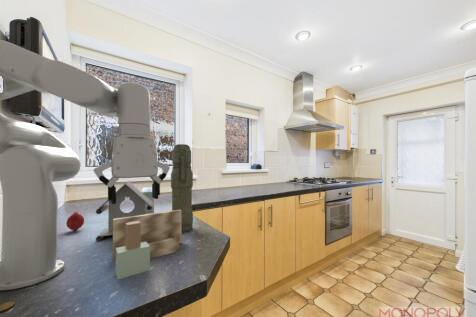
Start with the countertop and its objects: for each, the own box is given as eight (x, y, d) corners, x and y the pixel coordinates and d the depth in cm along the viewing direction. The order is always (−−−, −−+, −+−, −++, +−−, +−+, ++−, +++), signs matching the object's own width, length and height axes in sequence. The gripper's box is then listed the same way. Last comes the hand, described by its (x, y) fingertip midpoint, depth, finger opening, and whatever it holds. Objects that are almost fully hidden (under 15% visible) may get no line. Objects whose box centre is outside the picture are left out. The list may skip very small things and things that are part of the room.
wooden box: (116, 267, 54) (116, 224, 54) (112, 257, 60) (113, 218, 60) (189, 248, 66) (189, 213, 66) (179, 241, 72) (179, 209, 72)
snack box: (142, 215, 111) (142, 187, 111) (153, 214, 113) (153, 186, 113) (140, 226, 91) (140, 191, 92) (154, 224, 93) (154, 191, 94)
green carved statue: (173, 235, 78) (173, 143, 80) (168, 227, 89) (169, 145, 90) (196, 231, 82) (196, 143, 83) (189, 224, 93) (189, 146, 94)
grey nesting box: (153, 228, 88) (153, 181, 89) (151, 235, 79) (152, 182, 80) (103, 233, 82) (103, 182, 83) (95, 241, 73) (96, 184, 74)
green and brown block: (117, 279, 48) (118, 227, 49) (115, 272, 51) (116, 223, 52) (149, 270, 52) (149, 222, 53) (145, 264, 56) (145, 218, 56)
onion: (83, 231, 84) (84, 211, 85) (65, 234, 81) (65, 213, 81) (84, 228, 89) (84, 209, 89) (67, 230, 86) (67, 210, 86)
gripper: (94, 128, 45) (94, 208, 44) (173, 133, 55) (174, 198, 55) (92, 133, 51) (93, 203, 50) (164, 137, 61) (165, 195, 61)
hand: (135, 200), depth 52 cm, fingers open, 9 cm apart
